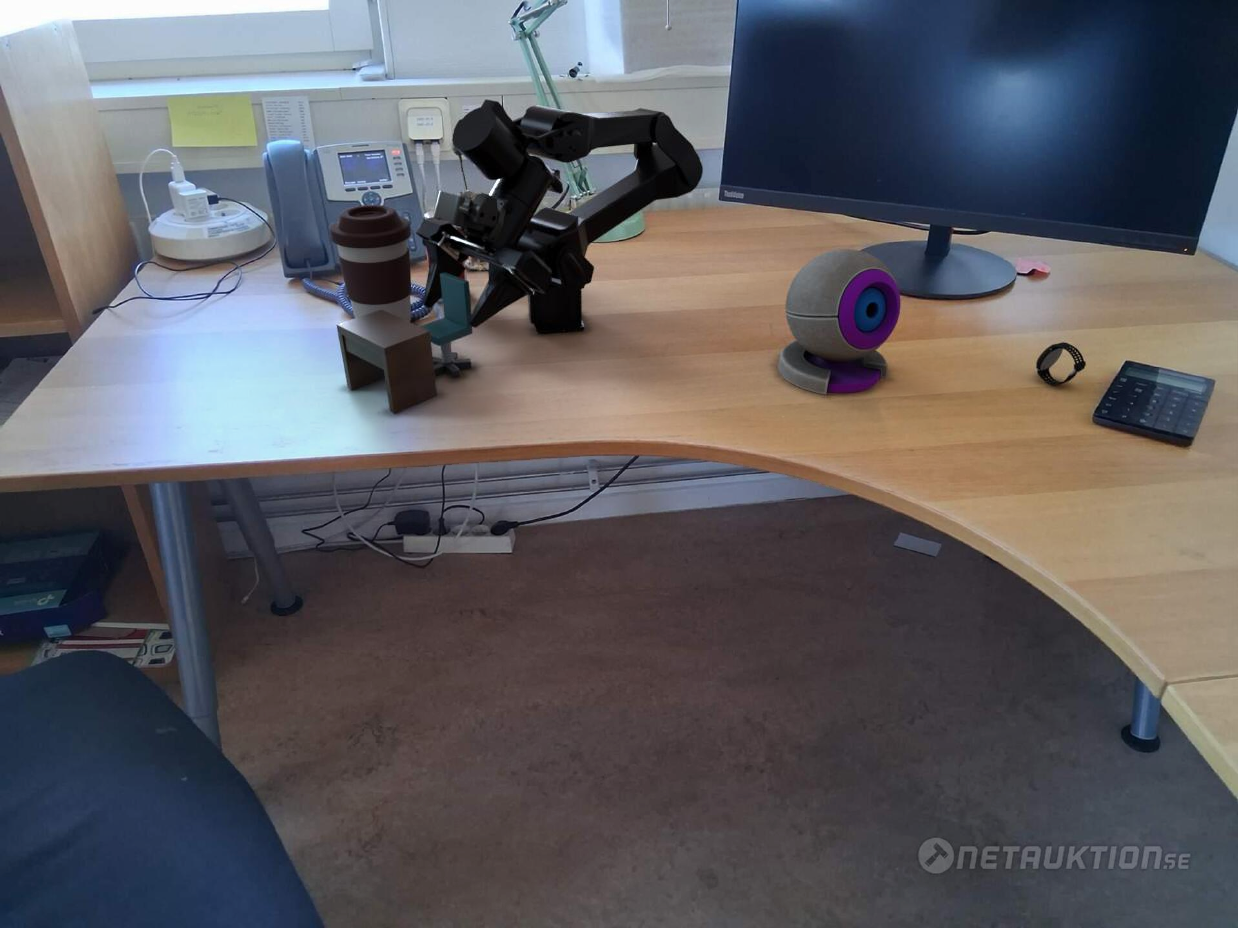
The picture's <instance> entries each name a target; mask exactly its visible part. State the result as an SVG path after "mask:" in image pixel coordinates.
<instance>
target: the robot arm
mask: <svg viewBox="0 0 1238 928" xmlns="http://www.w3.org/2000/svg"><path fill="white" fill-rule="evenodd" d="M451 137H452V141H453V144H454V146H455V147H456V148H457V149H458V150H459V151H460V152H461V153H462V154H463V155H462V156H463V157H464V158H465V159H466V160H468V162H469V163H470V164H471V165H472V166H473V167H475V169H476V170H477V171H478V172H479V173H480V174H482V176H483V177H484V178H486V179H487V180H490V181H495V183H494V185H492V186H493V187H492V188H491V189H490V191H489V193H488V194H487V193H484V192H480V193H477V195H476V196H475V198H474V199H473V201H472V200H469V199H466V198H463V197H459V196H456V194H455V195H453V194H454V193H450V192H446V191H442V190H439V193H438V196H437V200H436V203H435V208H434V210H435V212H434V216H433V217H431V218H427V219H425V218H424V219H423V220H422V221H421V223H420V225H419V226H418V228H417V229H416V232H415V234H416V235H417V236H418V237H419V238H421V239H422V240H421V242H422V245H423V246H424V247H425V249H426V248H427V251H428V254H429V259H430V261H429V271H428V272H427V278H426V284H425V289H424V294H423V299H422V306H425V308H428V309H431V308H432V307H433V306H435V304H437V303H438V300H439V299H440V298H441V297H442V290H441V280H440V274H441V273H444V272H446V273H448V274H451V275H453V276H456V277H459V276H460V275H461V274H462V273H463V272H464V271H465V269H466V270H467V268H465V267H464V266H463V265H462V264H460V263H462V262H464V261H466V260H467V259H468V258H469V256H470V257H473V258H475V259H478V260H481V261H484V262H487V263H489V269H488V281H487V282H486V285H485V287H484V289H483V291H482V292H481V294H480V297H479V298H478V300H477V303H476V304H475V307H474V308H473V310H472V312H471V313H472V315H471V318H470V320H469V325H471V326H472V328H474V329H476V328H478V327H479V326H481V325H482V324H483V323H485V322H486V321H488V320H490V319H491V318H493V317H494V316H495V315H497V314H498V313H500V312H501V311H503V310H504V309H506V308H507V307H509V306H511V305H512V304H514V303H516V302H518V301H519V300H521V299H523V298H525V297H526V296H527V306H528V307H527V308H528V318H529V322H530V324H532V325H533V327H534V331H535V332H536V333H537V334H545V333H559V332H561V333H562V332H572V331H573V332H574V331H575V332H576V331H583V330H585V323H584V321H583V307H582V306H583V300H582V299H583V298H582V297H583V296H582V294H583V293H582V292H583V291H582V290H583V289H585V286H586V285H589V284H591V283H592V281H593V276H594V272H595V265H593V264H592V262H590V261H589V260H588V259H587V258H586V255H587V251H588V248H589V246H590V245H591V244H593V243H594V242H595V241H597V240H598V239H600V238H602V237H603V236H604V235H606V234H607V233H609V232H611V231H612V230H613V229H614V228H616V227H618V226H619V225H621V224H622V223H624V222H625V221H627V220H628V219H630V218H632V217H634V215H635V214H637V213H639V212H640V211H642V210H644V209H645V208H646V207H648V206H650V205H652V203H654V202H656V201H660V200H667V199H677V198H680V197H682V196H685V195H687V194H690V193H692V192H693V191H694V190H695V189H697V187H698V185H699V183H700V182H701V179H702V176H703V173H704V167H703V164H702V161H701V158H700V156H699V154H698V153H697V151H696V149H695V147H694V145H693V144H692V142H691V141H689V139H687V138H686V137H685V136H684V134H682V133H681V132H680V131H679V130H678V129H677V128H676V126H675V125H674V123H673V120H672V118H671V117H670V116H669V115H668V114H666V113H665V112H663V111H659V110H654V109H648V108H643V107H640V108H637V109H634V110H620V111H605V112H591V113H590V112H589V113H578V112H575V111H574V112H573V111H568V110H563V109H559V108H554V107H548V106H544V105H537V104H536V105H532V106H529V107H528V108H527V109H526V110H525V113H524V115H523V116H520V117H518V118H515V119H512V118H511V117H510V116H509V114H508V113H507V111H506V109H505V108H504V107H503V105H502V104H501V103H500V102H499V101H498V100H492V99H487V98H486V99H484V101H483V102H482V104H481V106H480V107H476V108H474V109H472V110H471V111H469V112H467V114H465V115H464V116H463V117H462V118H461V119H459V120H458V121H457V123H456V124H455V126H454V128H453V132H452V136H451ZM629 145H633V157H634V158H635V160H636V163H635V167H634V169H633V171H632V172H631V173H630V174H628V175H626V176H625V177H623V178H621V179H620V180H619V181H617V182H615V183H613V184H612V185H610V186H608V187H607V188H606V189H604V190H602V191H601V192H599V193H597V194H596V195H594V196H593V197H591V198H589V199H588V200H586V201H585V202H583V203H582V204H580V205H578V206H577V207H575V208H574V209H572V210H570V211H569V212H565V211H563V210H558V209H555V208H551V207H548V206H546V207H543V208H541V209H540V210H538V208H539V206H541V204H542V202H543V199H544V197H545V196H546V194H547V193H548V192H551V193H555V194H562V193H564V186H563V182H562V180H561V171H560V170H559V169H557V168H553V167H549V166H548V165H547V164H546V163H545V162H544V161H543V159H547V160H550V161H555V162H560V163H564V164H569V163H572V162H575V161H578V160H580V159H583V158H585V157H587V156H588V155H590V153H591V152H592V151H593V150H595V149H596V150H597V149H600V148H601V149H602V148H610V147H620V146H629ZM537 210H538V211H537ZM441 219H443V220H446V221H448V222H449V223H448V222H445V221H442V220H441ZM451 224H452V225H455V226H456V228H457V229H458V230H459V231H460V232H462V233H464V234H465V235H467V236H466V237H465V236H464V235H462V234H461V233H460V232H459V231H458V230H457V229H456V228H454V227H453V226H452V225H451ZM476 249H477V250H479V252H478V251H475V250H476ZM489 255H491V256H489ZM492 256H493V257H492Z"/></svg>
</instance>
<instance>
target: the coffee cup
mask: <svg viewBox="0 0 1238 928" xmlns="http://www.w3.org/2000/svg"><path fill="white" fill-rule="evenodd" d="M328 230H329V231H328V232H329V237H330V240H331V242H333V244H335V245H336V246H337V250H338V254H337V257H338V262H339V266H340V269H341V274H342V278H343V283H344V286H345V291H346V295H347V297H348V299H349V300H350V304H351V308H352V313H353V316H354V319H355V318H358V317H361V316H364V315H367V314H369V313H372V312H375V311H378V310H384V311H386V312H388V313H390V314H393V315H395V316H397V317H399V318H401V319H404V320H406V321H408V322H410V323H411V322H412V321H411V320H412V303H411V293H412V276H411V257H410V254H411V253H410V249H409V247H408V239H409V238H410V237H411V235H412V228H411V223H410V221H409V219H408V218H406V217H404V216H401V215H398V212H397V210H396V209H394V207H391V206H389V205H388V206H387V205H382V204H361V205H356V206H352V207H348V208H346V209H343V210H342V211H341V212H340V213H339V217H338V219H337V220H335V221H333V222H332V223H331V224H330V226H329V227H328Z"/></svg>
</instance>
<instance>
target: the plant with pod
mask: <svg viewBox="0 0 1238 928" xmlns="http://www.w3.org/2000/svg"><path fill="white" fill-rule="evenodd" d="M450 147H451V150H452V151H453V153H454V154H455V156H458V160H459V165H460V170H461V173H462V178H463V179H462V180H463V184H464V188H465V189H463V190H461V191H459V192H457V193H456V194H455V193H452V194H453V195H456V196H459V197H463V198H466V199H469V200H472V201H473V199H474V198H475V196H476V195H477V194H478V193H477V192H476V191H475V190H469V189H468V186H467V185H468V184H467V181H466V175H465V172H464V167H463V157H462V156H464V155H463V154H462V153H461V152H460V151H459V150H458V149H457V148H456V147H455V146H454V144H453V141H452V136H451V138H450ZM463 235H464V236H465V237H466V236H467V235H465V234H464V233H463ZM475 251H478V252H479V250H477V249H476V250H475ZM489 256H491V255H489ZM492 257H493V256H492ZM465 267H466V269H468V270H472V271H479V272H480V271H482V270H483V271H488V270H489V263H487V262H484V261H481V260H478V259H475V258H473V257H470V256H469V258H468V259H467V260H466V261H465Z"/></svg>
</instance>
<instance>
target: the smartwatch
mask: <svg viewBox="0 0 1238 928" xmlns="http://www.w3.org/2000/svg"><path fill="white" fill-rule="evenodd" d="M1063 350H1065V351H1066V352H1067V353H1069V354H1070V356H1071V357H1072V360H1073V362H1074V364H1073V370H1072V371H1071V372H1070V373H1069V374H1068V376H1067V377H1066V378H1065V379H1064V380H1063V381H1059V380H1056V379H1055V378H1054V377H1053V376H1052V374H1051V372H1050V369H1051V368H1052V367H1053V366H1054V365H1055V364H1056V362H1057V361H1058V360H1059V359H1060V357H1061V355H1062V354H1063ZM1086 366H1087V361H1086V360H1084V356H1083V354H1082V352H1081V351H1080V350H1079V349H1078V348H1077V347H1076V346H1074V345H1073V344H1070V343H1068V342H1065V341H1061V342H1058V343H1053V344H1051V345H1050V346H1047V347H1046V348H1045V349H1044V350H1043V351H1042V352H1041V353H1040V355H1039V357H1037V360H1036V363H1035V368H1036V370H1037V371H1036V373H1037V375H1038V376H1039V377H1040V379H1041V380H1043V382H1044V383H1045V384H1048V385H1050V386H1052V387H1058V386H1060V385H1063V384H1066V383H1068V382H1069V381H1071V380H1072V379H1074V378H1075V377H1076V375H1077V374H1078V373H1080V372H1081V371H1083V370H1084V369H1085V367H1086Z"/></svg>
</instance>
